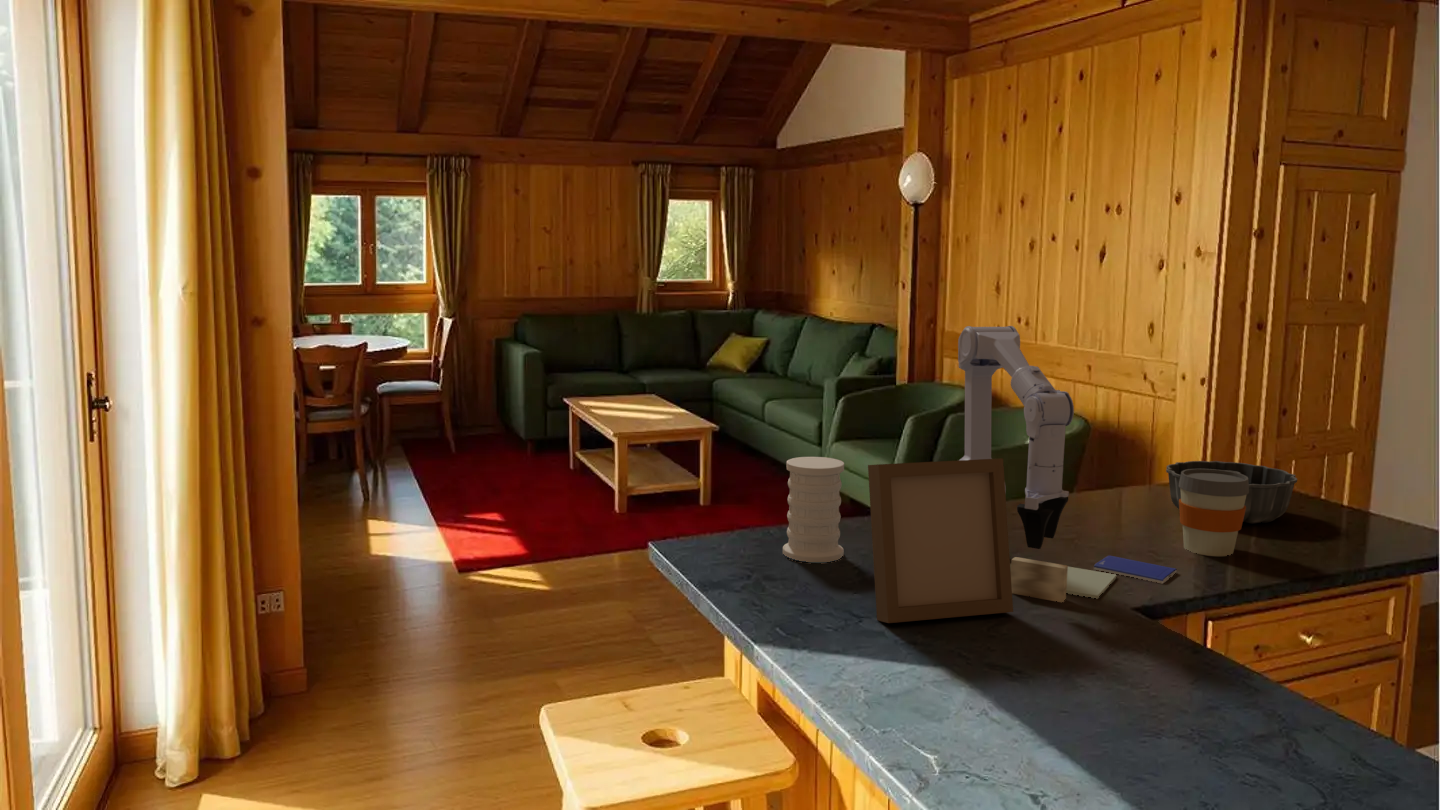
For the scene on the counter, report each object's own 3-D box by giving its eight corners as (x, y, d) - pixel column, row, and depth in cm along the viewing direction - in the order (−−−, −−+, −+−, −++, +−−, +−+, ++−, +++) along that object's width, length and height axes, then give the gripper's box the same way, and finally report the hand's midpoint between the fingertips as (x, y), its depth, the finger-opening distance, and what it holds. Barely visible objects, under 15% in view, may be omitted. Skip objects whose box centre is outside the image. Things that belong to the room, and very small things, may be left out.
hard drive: (1093, 564, 202) (1163, 578, 194) (1109, 554, 208) (1177, 567, 201) (1093, 572, 202) (1162, 587, 195) (1108, 562, 208) (1176, 576, 201)
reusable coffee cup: (1229, 542, 222) (1236, 469, 219) (1253, 560, 209) (1260, 483, 207) (1165, 539, 223) (1171, 467, 220) (1185, 557, 210) (1191, 481, 208)
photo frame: (1012, 617, 176) (1021, 465, 172) (887, 629, 171) (893, 471, 167) (968, 588, 190) (975, 447, 187) (851, 598, 185) (856, 452, 181)
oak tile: (1009, 593, 189) (1011, 559, 188) (1013, 590, 190) (1015, 556, 189) (1062, 603, 184) (1064, 568, 183) (1065, 599, 186) (1067, 565, 185)
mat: (993, 580, 195) (993, 577, 195) (1017, 561, 207) (1017, 558, 207) (1097, 599, 186) (1097, 595, 186) (1116, 577, 197) (1116, 574, 197)
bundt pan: (1139, 503, 254) (1142, 460, 252) (1241, 499, 258) (1245, 457, 257) (1209, 533, 228) (1213, 486, 227) (1321, 529, 233) (1325, 483, 231)
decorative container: (822, 567, 202) (825, 471, 199) (770, 555, 209) (772, 463, 206) (854, 553, 211) (857, 461, 208) (803, 542, 218) (806, 453, 215)
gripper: (1057, 474, 175) (1052, 556, 177) (1080, 459, 188) (1076, 536, 190) (1014, 469, 179) (1009, 549, 181) (1039, 454, 191) (1035, 530, 193)
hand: (1040, 542), depth 186 cm, fingers open, 7 cm apart
